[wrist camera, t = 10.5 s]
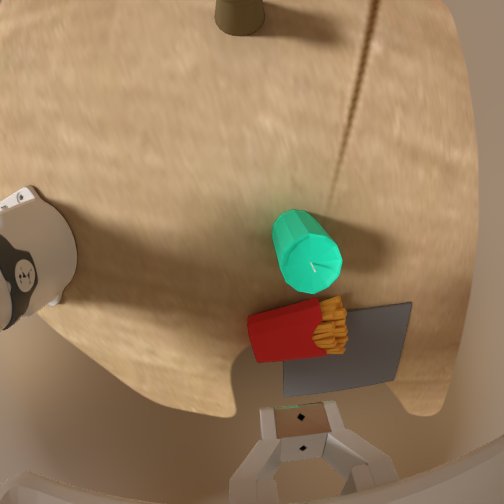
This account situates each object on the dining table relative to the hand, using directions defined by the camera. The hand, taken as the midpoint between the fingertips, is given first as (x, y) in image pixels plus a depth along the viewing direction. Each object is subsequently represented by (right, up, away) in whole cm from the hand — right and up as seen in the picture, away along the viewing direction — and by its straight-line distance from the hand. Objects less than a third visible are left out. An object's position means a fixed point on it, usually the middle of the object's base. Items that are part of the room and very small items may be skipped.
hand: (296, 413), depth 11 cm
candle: (+4, +9, +28) cm, 29 cm away
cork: (-3, +35, +18) cm, 39 cm away
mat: (+13, -9, +34) cm, 38 cm away
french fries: (-2, -6, +30) cm, 31 cm away
